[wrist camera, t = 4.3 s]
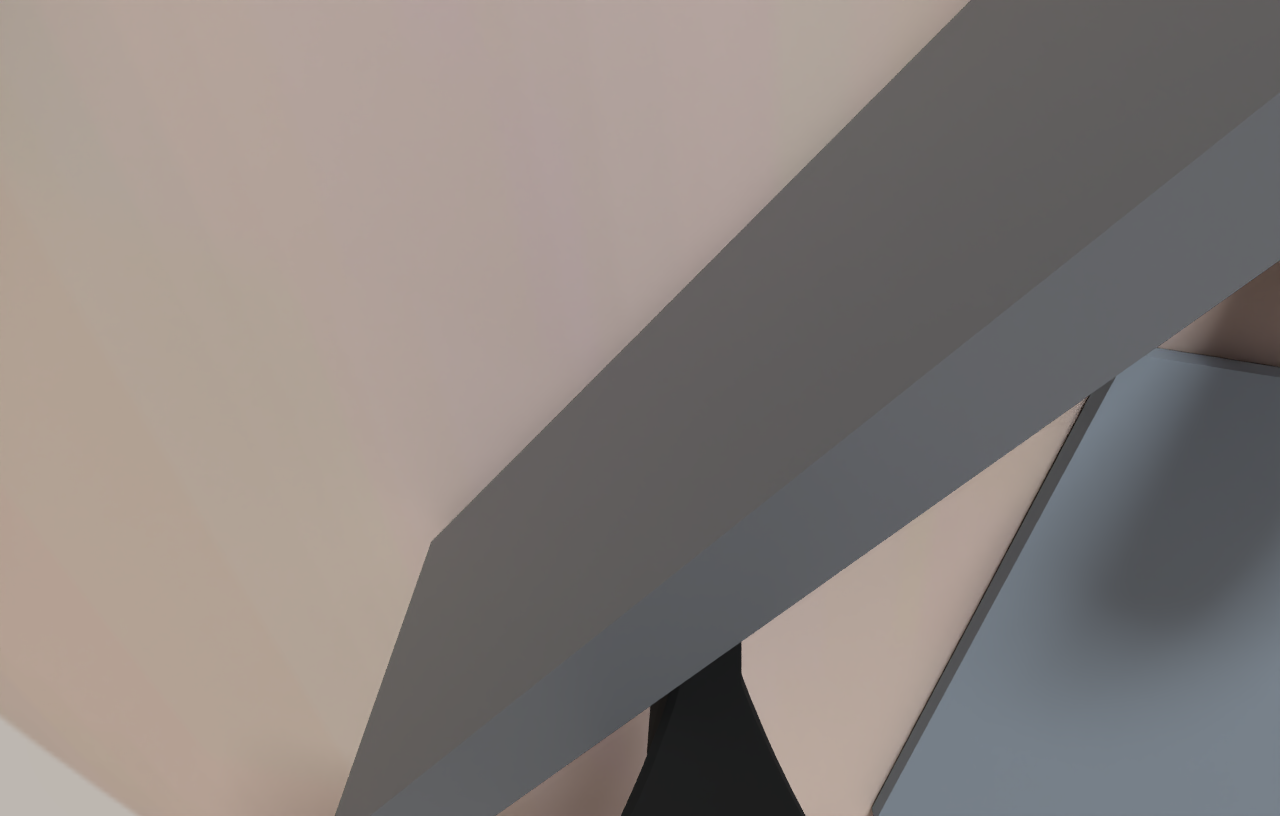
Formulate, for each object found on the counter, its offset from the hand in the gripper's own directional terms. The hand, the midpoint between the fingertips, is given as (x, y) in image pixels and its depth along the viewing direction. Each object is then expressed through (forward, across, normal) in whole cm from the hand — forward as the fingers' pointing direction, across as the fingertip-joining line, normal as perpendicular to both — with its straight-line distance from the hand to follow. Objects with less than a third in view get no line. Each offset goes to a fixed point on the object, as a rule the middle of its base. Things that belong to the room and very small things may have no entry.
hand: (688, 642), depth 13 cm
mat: (+4, -14, +3) cm, 15 cm away
